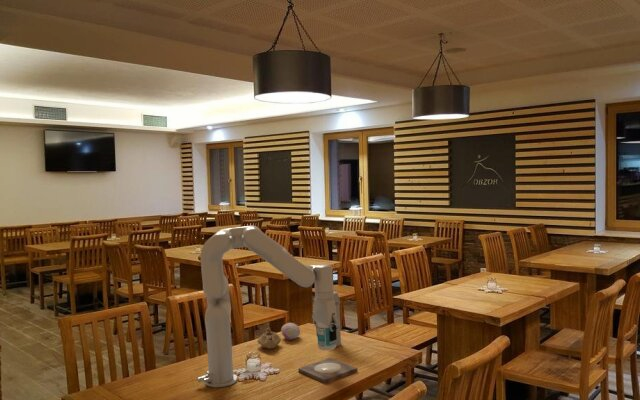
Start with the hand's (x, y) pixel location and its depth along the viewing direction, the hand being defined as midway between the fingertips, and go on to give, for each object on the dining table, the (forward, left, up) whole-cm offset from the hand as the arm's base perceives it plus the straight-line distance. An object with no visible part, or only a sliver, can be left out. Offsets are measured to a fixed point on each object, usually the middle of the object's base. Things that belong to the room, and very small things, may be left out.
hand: (326, 337), depth 210 cm
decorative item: (+16, +47, -14) cm, 52 cm away
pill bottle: (0, 0, -4) cm, 4 cm away
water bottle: (+23, +23, -14) cm, 36 cm away
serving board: (0, 0, -14) cm, 14 cm away
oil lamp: (+1, +43, -14) cm, 45 cm away
